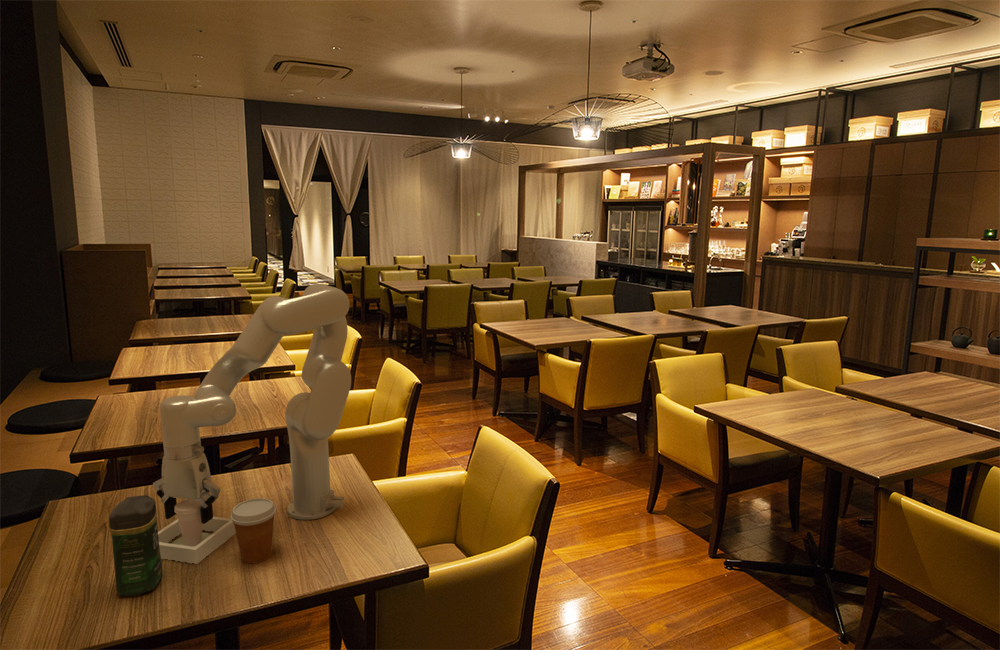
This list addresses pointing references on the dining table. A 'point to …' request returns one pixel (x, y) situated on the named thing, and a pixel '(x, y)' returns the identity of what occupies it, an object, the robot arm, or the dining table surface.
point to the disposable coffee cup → (254, 528)
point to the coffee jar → (135, 545)
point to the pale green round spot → (180, 542)
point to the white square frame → (190, 554)
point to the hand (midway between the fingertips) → (189, 518)
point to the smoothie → (189, 521)
